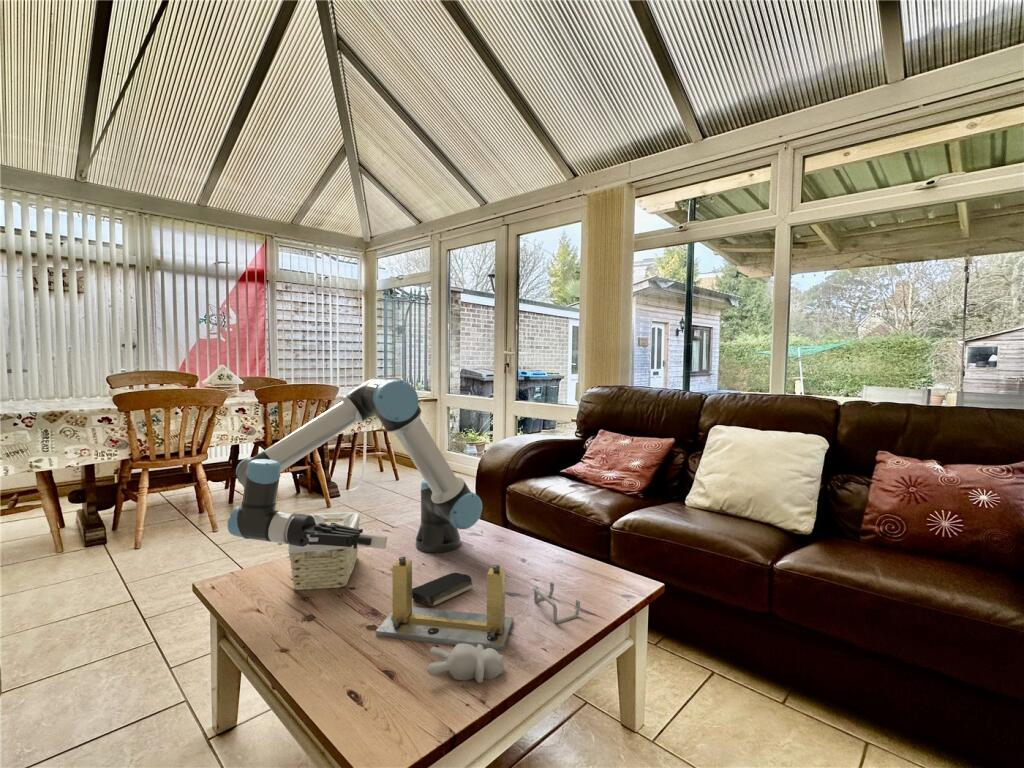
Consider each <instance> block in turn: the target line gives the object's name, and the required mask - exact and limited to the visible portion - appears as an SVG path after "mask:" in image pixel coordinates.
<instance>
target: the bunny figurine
mask: <svg viewBox="0 0 1024 768" xmlns="http://www.w3.org/2000/svg"><path fill="white" fill-rule="evenodd" d="M429 655H430V656H432V657H436V658H441V659H445V660H443V661H434V662H431V663H429V664H428V665H427V673H428V675H430V676H436V675H439V674H443V673H445V672H448V671H449V672H450V674H451V676H452V678H453V679H454V680H457V681H468V680H471V679H473V678H474V679H475V681H476V682H477V683H478V684H481V683H483V682H484V679H486V680H494V679H496V678H497V677H498V676H499V675H500V674H501V675H503V674H504V667H505V665H504V658H503V654H499V652H498V650H494V649H493V648H487V649H484V648H483V646H482V645H480V644H478V646H477V647H474V646H473V645H470V644H457V645H454V647H453V649H451V652H450V651H448V650H445V649H442V648H440V647H437V646H433V647H431V648H430V649H429Z"/></svg>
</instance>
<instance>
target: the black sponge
mask: <svg viewBox="0 0 1024 768" xmlns="http://www.w3.org/2000/svg"><path fill="white" fill-rule="evenodd" d="M472 579H473V578H472V577H471V575H469V574H464V573H459V572H451V573H448V574H446V575H443V576H441V577H438V578H436V579H433V580H431V581H429V582H426V583H423V584H420V585H418V586H415V587H412V600H413V601H416V602H420V603H422V604H424V605H425V606H430V607H434V606H436V605H438V604H441V603H443V602H445V601H448V600H450V599H452V598H454V597H455V596H458V595H460V594H463V593H464V592H466V591H469V590H470V589H472V587H473V581H472Z"/></svg>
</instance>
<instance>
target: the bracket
mask: <svg viewBox="0 0 1024 768" xmlns="http://www.w3.org/2000/svg"><path fill="white" fill-rule="evenodd" d="M554 590H555V584H554V582H553V581H550V583H549V592H548V593H547V595H545V594H544V593H543V592H542V591H541V590H540V589H539V587H538V585H534V586H533V592H534V593H533V595H534V597H533V601H534V602H535V603H538V602H540V601H543V600H544V601H545V602H547V603H548V604H549V605H551V607H552V610H553V617H552V618H553V622H554V623H555V624H557V625H558V624H561V623H565V622H568V621H571V620H573V618H574V619H576V618H577V617H578V616H579V615H580V610H581V600H580V599H575V612H574V614H571V615H567V616H565V617H562V618H559V619H558V606H557V604H556V603H555V602H554V600H552V599H551V598H552V597H553V594H554ZM570 619H571V620H570Z"/></svg>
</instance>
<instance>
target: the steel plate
mask: <svg viewBox="0 0 1024 768" xmlns="http://www.w3.org/2000/svg"><path fill="white" fill-rule="evenodd" d="M392 614H393V610H391V612H390V613H389V614H388V615H387V617H386V618H385V619H384V620H383V621H382V623H381V624H380V625H379V626H378V628H377V629H376V630H375V637H381V638H391V639H399V640H407V641H414V642H415V641H416V642H425V643H433V644H442V645H447V646H448V645H450V646H456V645H457V644H470V645H473V646H474V647H477V646H478V644H480V645H482V646H483V648H484V650H485V649H487V648H493V649H494V650H496V651H500V652H501V651H502V652H504V650H505V647H506V644H507V641H508V638H509V636H510V633H511V629H512V625H513V623H514V617H511V616H505V625H504V627H503V629H502V633H501V634H500V633H496V635H495V637H494V638H490V632H487V630H480V629H471V628H462V627H453V626H444V625H435V624H426V623H417V622H408V621H407V622H406V623H402V622H401V623H400V625H399V626H398V627H393V623H394V622H393V621H392V620H391V615H392ZM412 614H413V615H422V616H431V617H441V618H450V619H459V620H468V621H478V622H487V614H484V613H474V612H463V611H455V610H445V609H438V608H427V607H417V606H412Z"/></svg>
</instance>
